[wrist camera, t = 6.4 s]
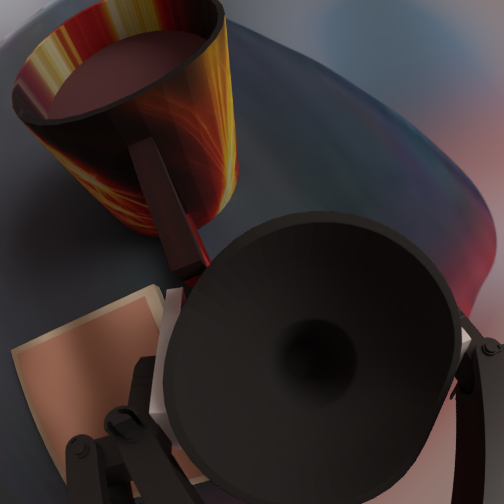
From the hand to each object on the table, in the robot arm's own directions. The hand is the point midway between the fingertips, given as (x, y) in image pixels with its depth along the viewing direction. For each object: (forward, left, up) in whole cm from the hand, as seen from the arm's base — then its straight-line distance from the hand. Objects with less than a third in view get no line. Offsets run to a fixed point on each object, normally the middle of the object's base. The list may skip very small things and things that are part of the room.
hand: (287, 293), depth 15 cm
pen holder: (-1, -3, -4) cm, 5 cm away
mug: (-2, +9, -4) cm, 10 cm away
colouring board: (-13, -2, -4) cm, 13 cm away
